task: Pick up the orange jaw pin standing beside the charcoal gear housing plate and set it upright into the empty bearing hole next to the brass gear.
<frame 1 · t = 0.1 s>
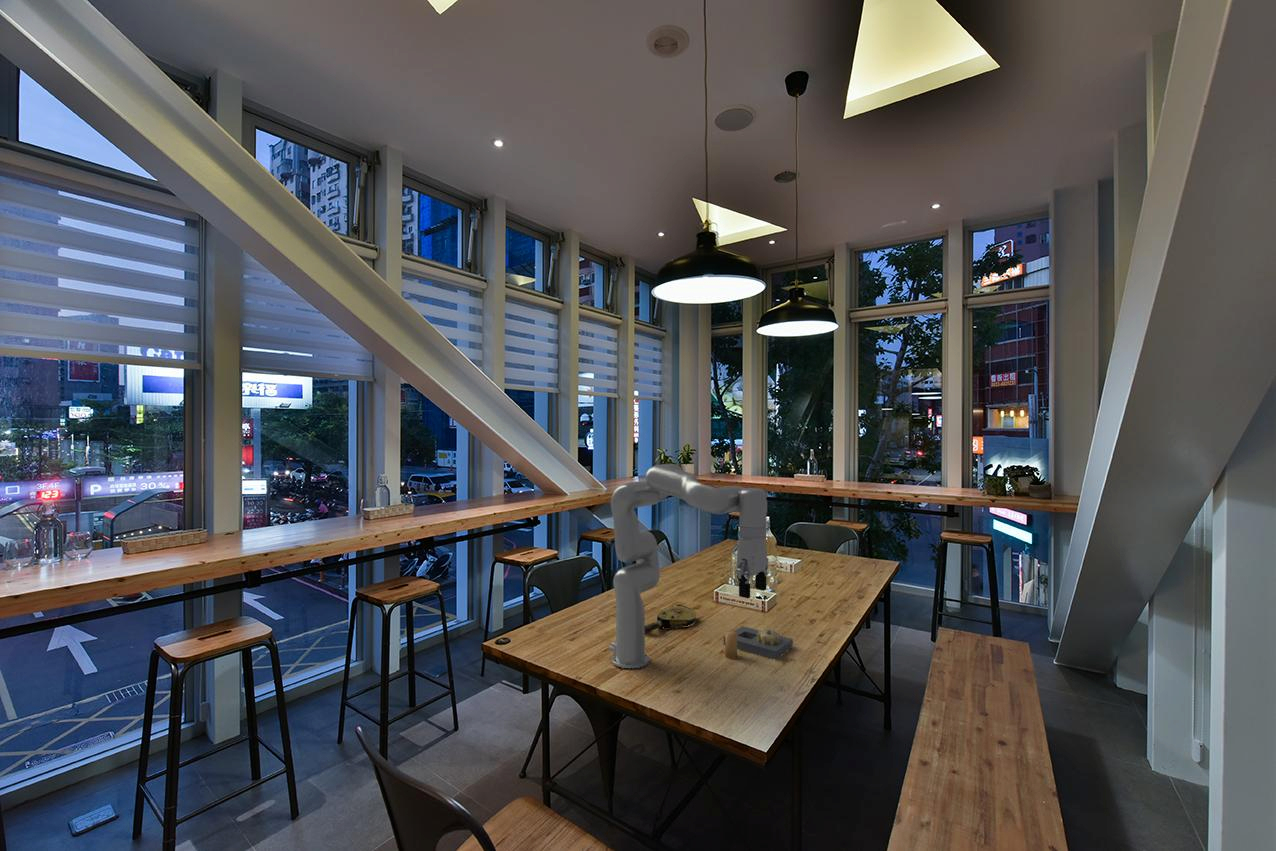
hand: (752, 593, 151), 31 cm above the table, tool pointing down, fingers open, 9 cm apart
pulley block: (669, 626, 213), on the table
housing: (758, 646, 192), on the table
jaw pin: (731, 656, 183), on the table
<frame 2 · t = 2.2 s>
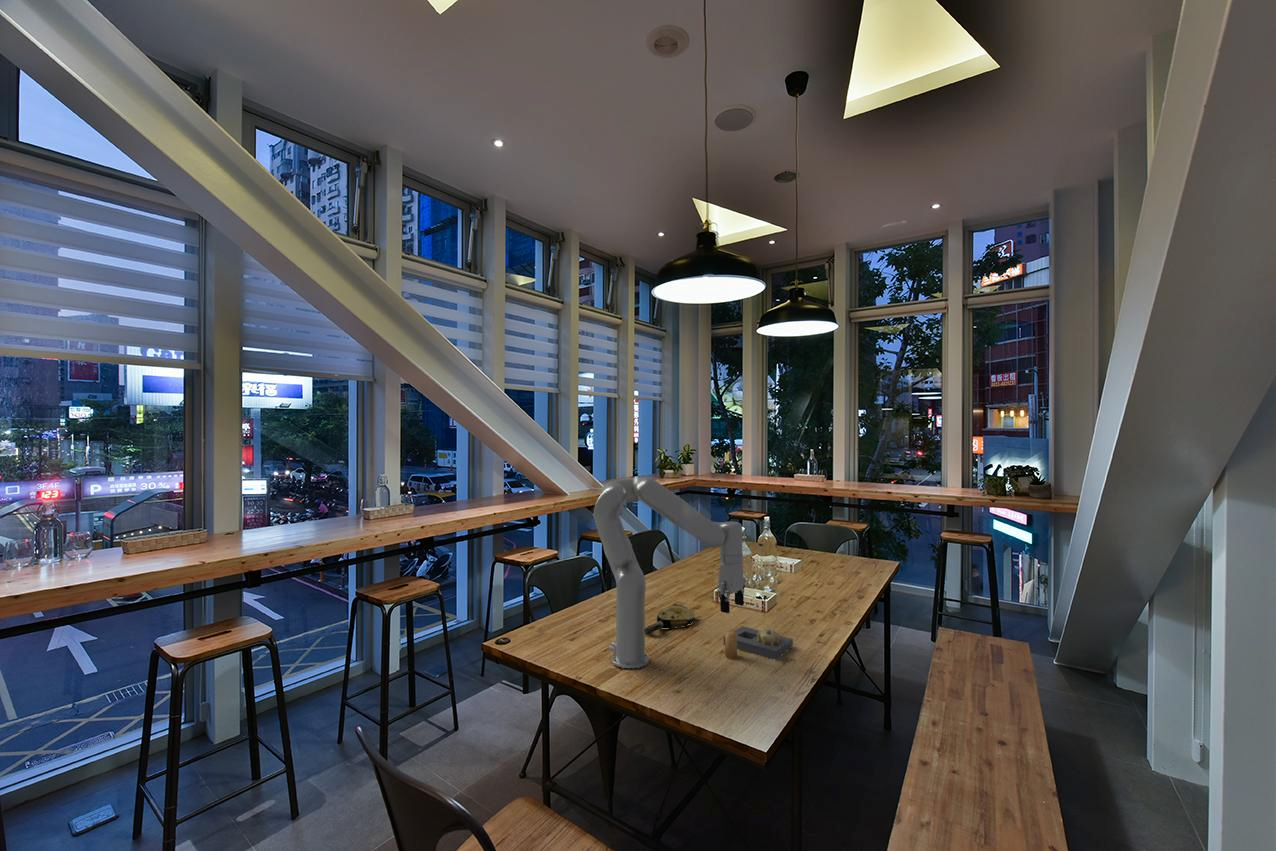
hand: (732, 608, 183), 16 cm above the table, tool pointing down, fingers open, 9 cm apart
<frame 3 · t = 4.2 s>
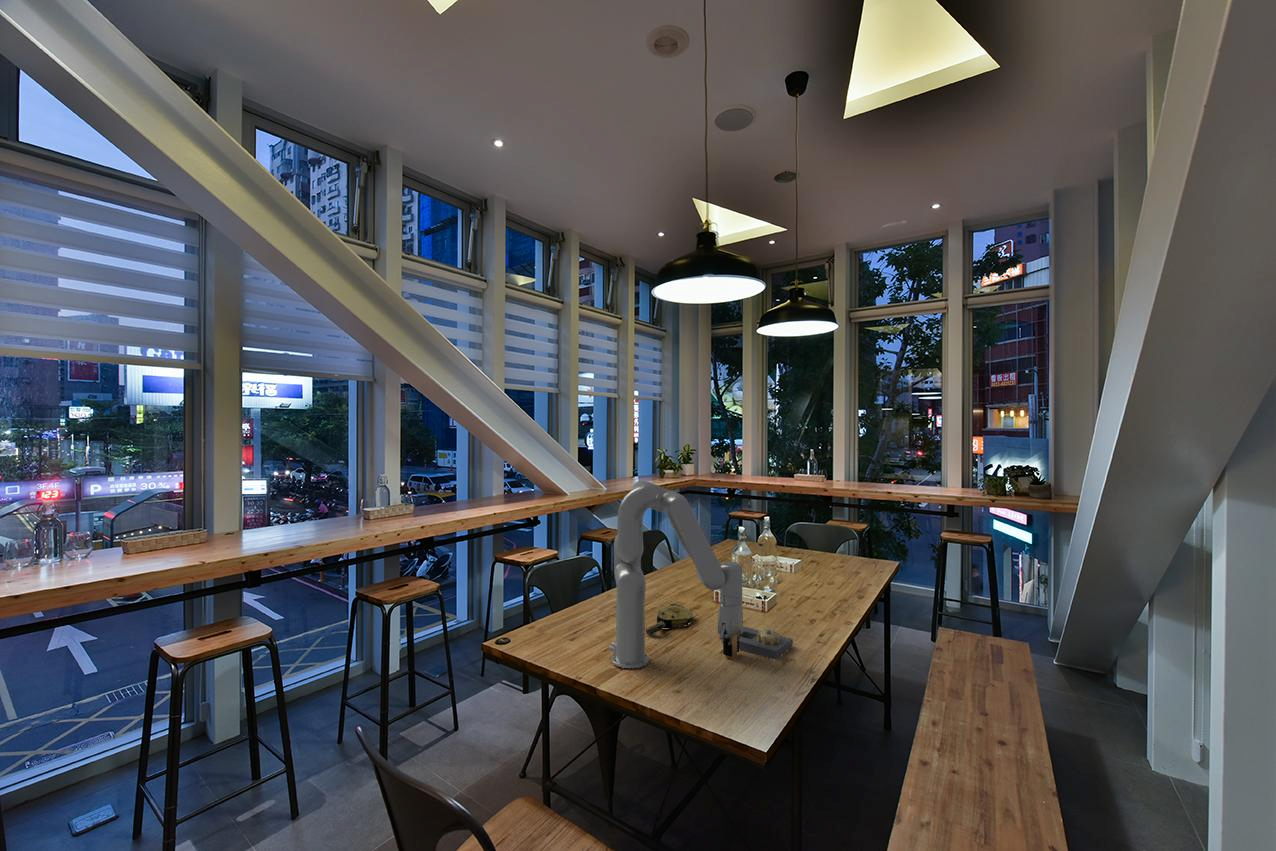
hand: (731, 652, 183), 1 cm above the table, tool pointing down, fingers closed on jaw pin, 4 cm apart
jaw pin: (731, 656, 183), on the table, touching gripper
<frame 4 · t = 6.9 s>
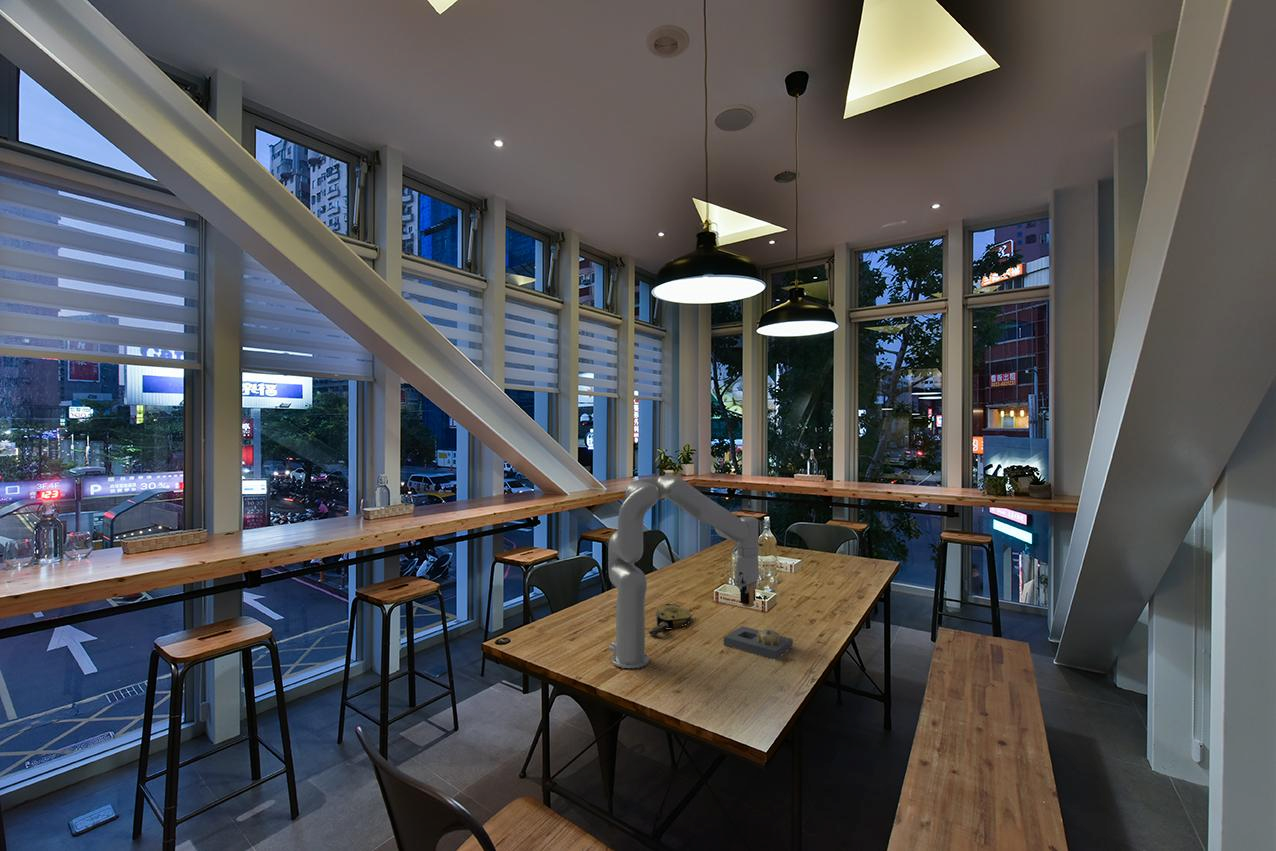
hand: (747, 601, 195), 15 cm above the table, tool pointing down, fingers closed on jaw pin, 4 cm apart
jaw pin: (748, 605, 195), point 14 cm above the table, touching gripper
when the fingers open (3 cm above the table, at t = 10.0 s): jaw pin drops 2 cm, resting in housing.
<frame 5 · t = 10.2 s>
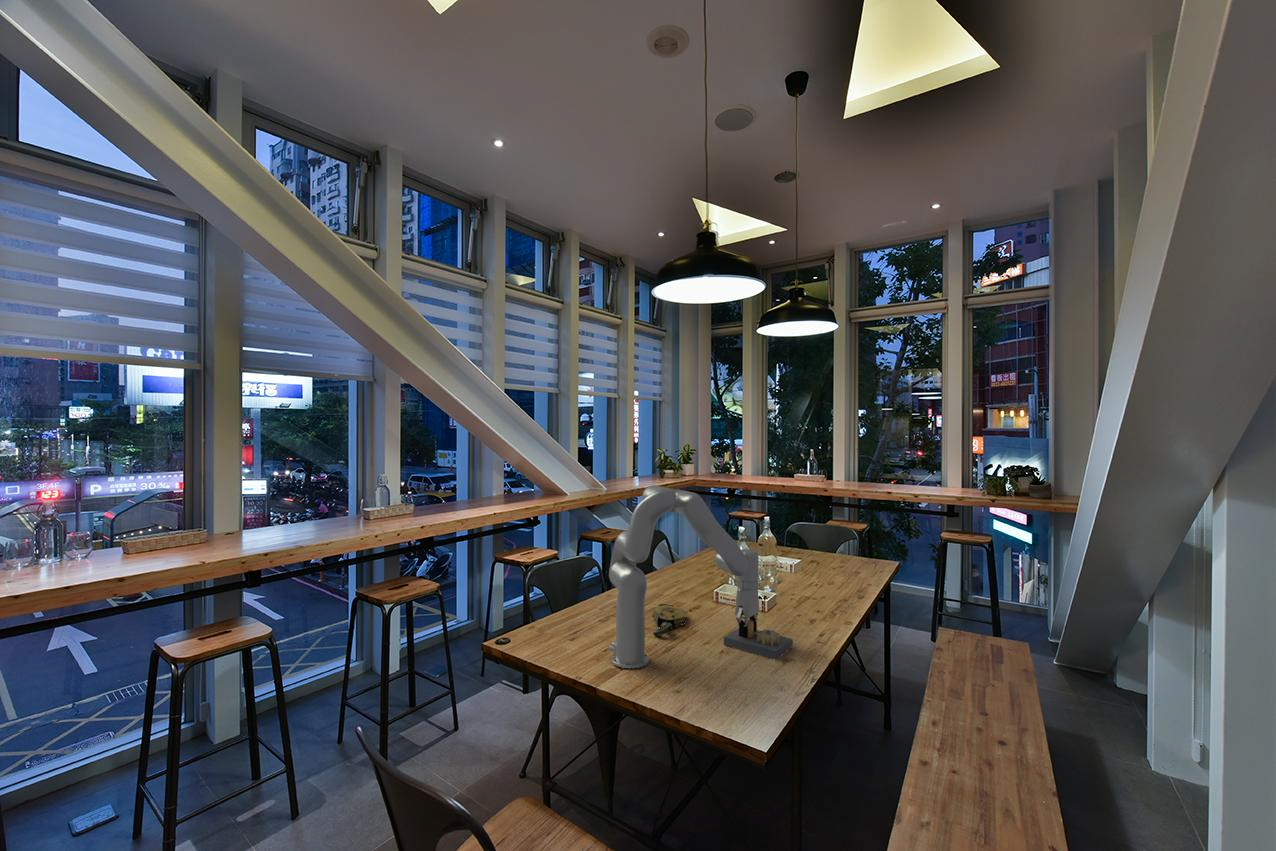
hand: (747, 633, 195), 4 cm above the table, tool pointing down, fingers open, 6 cm apart
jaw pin: (747, 643, 195), resting in housing
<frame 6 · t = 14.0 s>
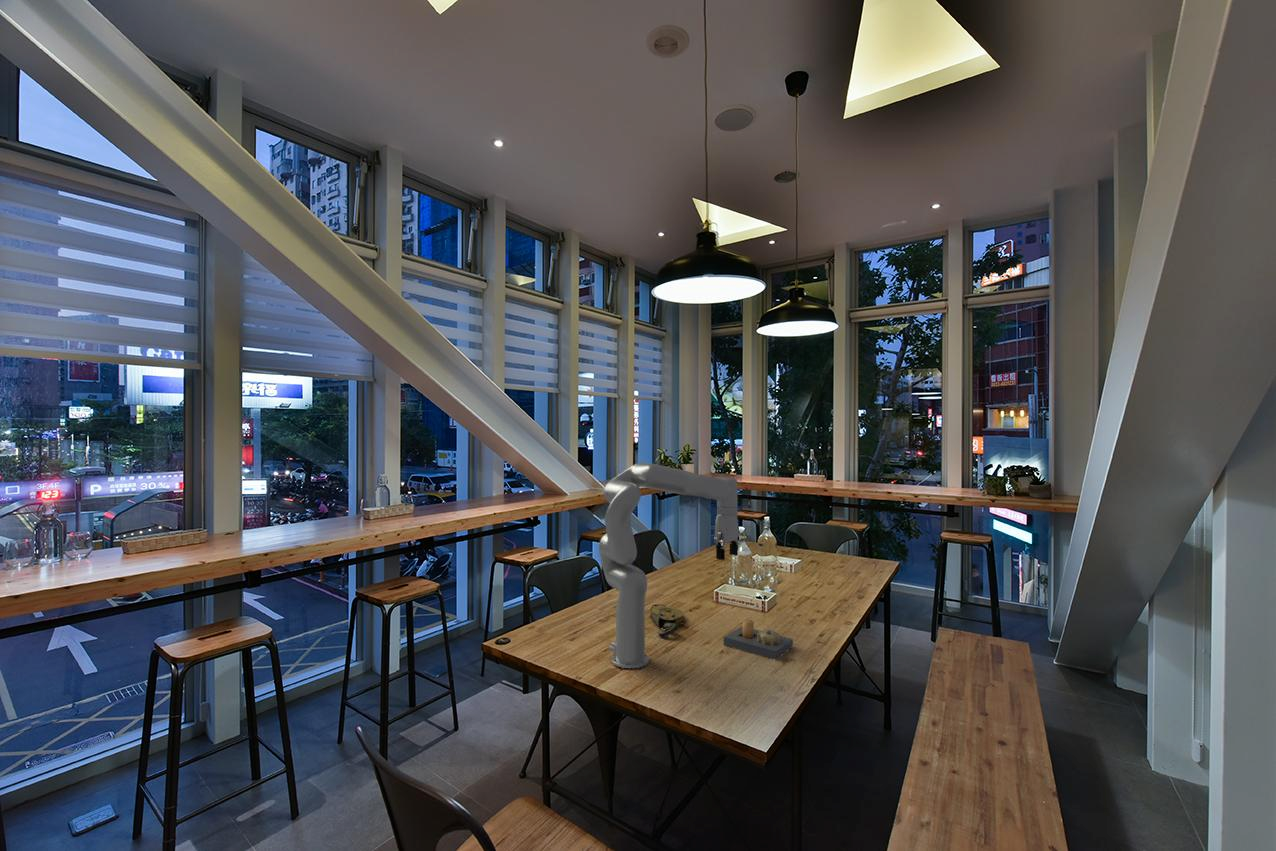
hand: (727, 557, 199), 30 cm above the table, tool pointing down, fingers open, 9 cm apart
at the end: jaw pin 0.0 cm from the target spot on the housing, point 0.0 cm above the housing's base; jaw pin tilted 0°; the gripper is holding nothing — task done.
